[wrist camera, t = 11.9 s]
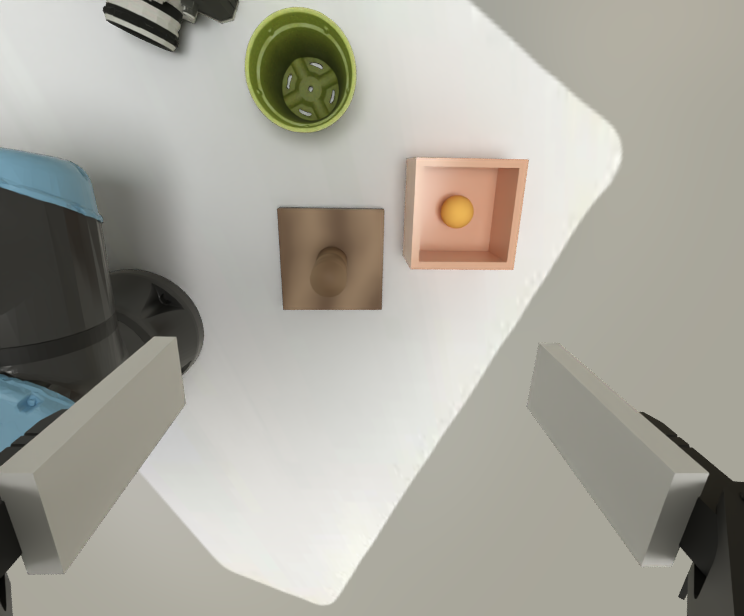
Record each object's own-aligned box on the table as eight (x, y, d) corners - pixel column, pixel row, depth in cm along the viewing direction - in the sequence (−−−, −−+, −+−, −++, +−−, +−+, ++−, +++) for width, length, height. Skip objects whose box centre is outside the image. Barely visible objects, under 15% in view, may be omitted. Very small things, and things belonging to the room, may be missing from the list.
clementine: (436, 225, 46) (443, 230, 43) (438, 193, 45) (445, 196, 42) (466, 226, 46) (476, 231, 43) (470, 194, 45) (479, 196, 42)
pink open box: (402, 255, 48) (410, 269, 42) (406, 158, 45) (416, 157, 38) (491, 255, 49) (513, 269, 42) (502, 160, 45) (528, 159, 39)
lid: (284, 306, 49) (270, 336, 41) (278, 207, 45) (262, 217, 37) (380, 306, 50) (387, 335, 41) (383, 209, 46) (390, 218, 37)
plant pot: (343, 149, 44) (341, 146, 36) (258, 124, 43) (236, 114, 35) (365, 56, 41) (369, 28, 33) (275, 25, 40) (255, -11, 32)
